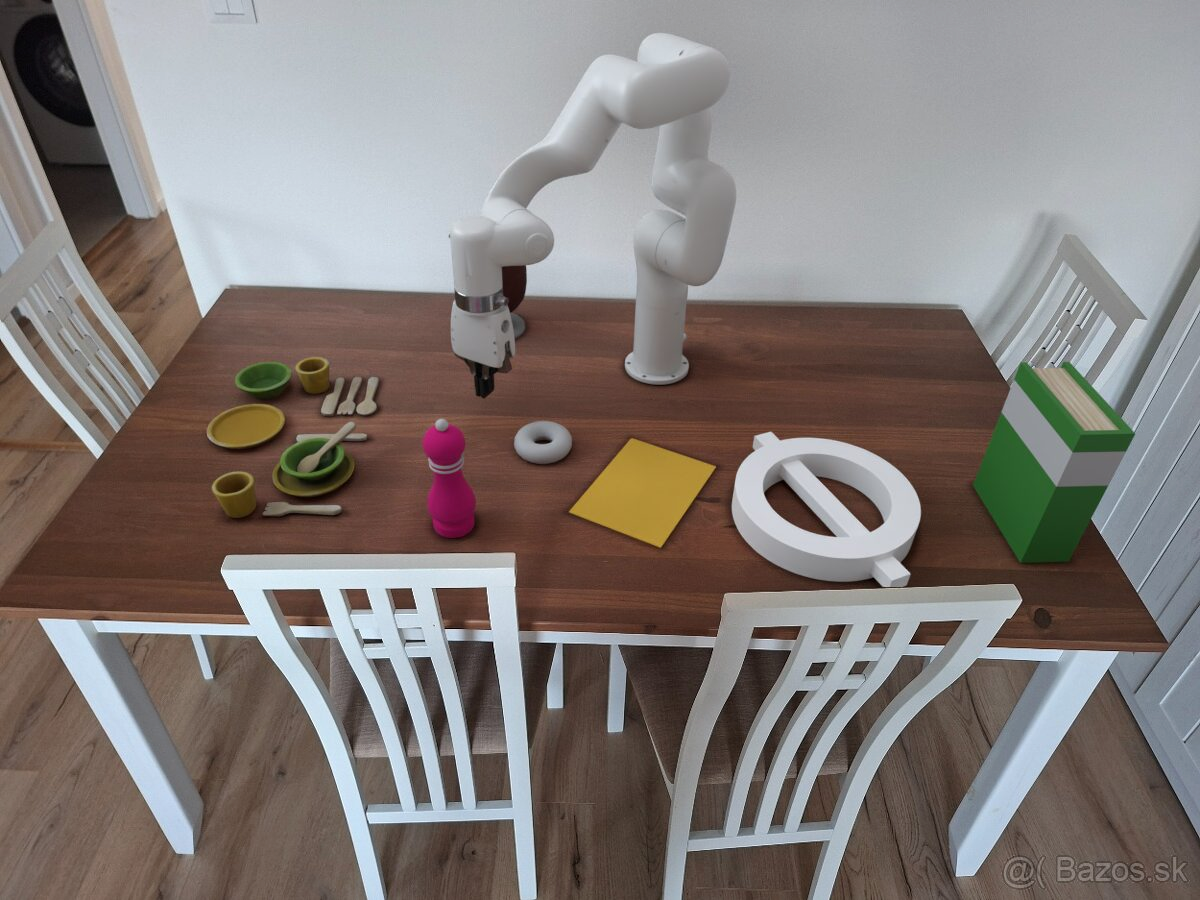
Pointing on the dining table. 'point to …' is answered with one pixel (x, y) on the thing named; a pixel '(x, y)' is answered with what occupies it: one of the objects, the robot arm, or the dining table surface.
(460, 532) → the pepper mill
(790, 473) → the ring with crossbar
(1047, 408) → the hardback book
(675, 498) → the cloth
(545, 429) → the donut
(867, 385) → the dining table surface
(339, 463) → the tableware set
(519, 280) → the mate gourd
